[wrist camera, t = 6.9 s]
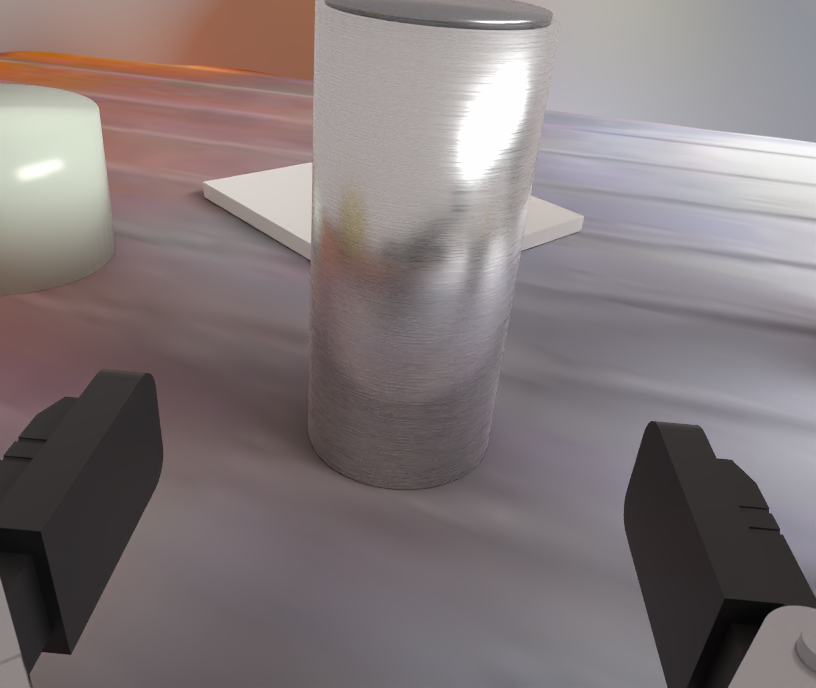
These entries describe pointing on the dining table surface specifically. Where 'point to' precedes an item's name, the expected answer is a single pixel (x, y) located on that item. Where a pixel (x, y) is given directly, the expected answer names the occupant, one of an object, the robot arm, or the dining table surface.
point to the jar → (51, 189)
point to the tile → (292, 208)
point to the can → (418, 226)
